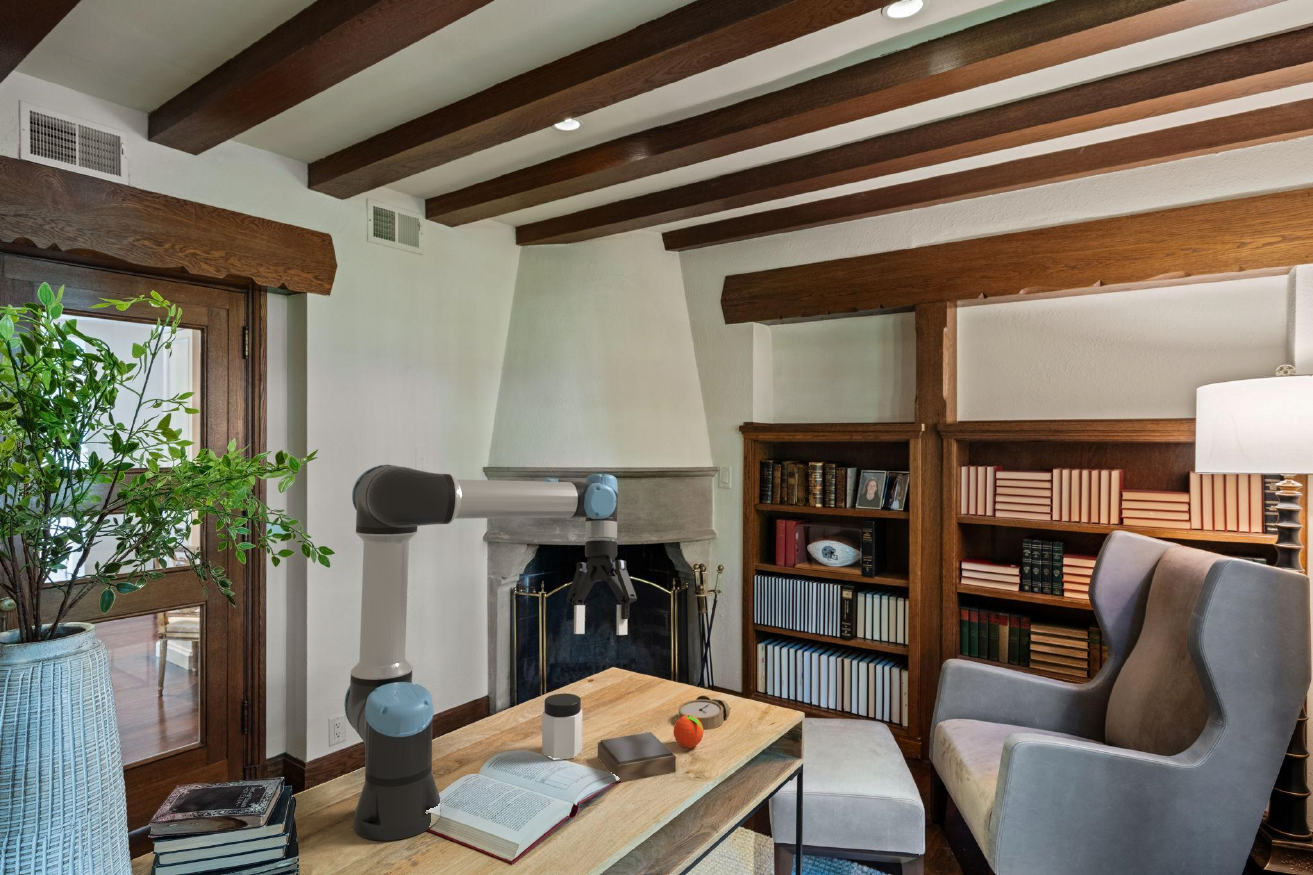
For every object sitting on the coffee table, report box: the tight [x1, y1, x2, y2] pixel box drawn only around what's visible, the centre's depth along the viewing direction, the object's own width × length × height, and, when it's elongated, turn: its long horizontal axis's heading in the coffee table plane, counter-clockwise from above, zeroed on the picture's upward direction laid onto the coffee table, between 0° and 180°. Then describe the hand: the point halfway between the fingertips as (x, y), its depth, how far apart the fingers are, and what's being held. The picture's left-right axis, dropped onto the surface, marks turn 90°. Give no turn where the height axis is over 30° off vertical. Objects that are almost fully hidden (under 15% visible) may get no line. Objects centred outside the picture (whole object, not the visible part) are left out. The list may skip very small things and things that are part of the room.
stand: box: [597, 731, 677, 783], centre depth 160 cm, size 13×13×4 cm
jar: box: [541, 693, 583, 760], centre depth 166 cm, size 9×8×12 cm
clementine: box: [673, 715, 705, 749], centre depth 169 cm, size 8×7×7 cm
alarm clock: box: [675, 694, 732, 731], centre depth 187 cm, size 11×5×15 cm
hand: (600, 634), depth 168 cm, fingers open, 13 cm apart
